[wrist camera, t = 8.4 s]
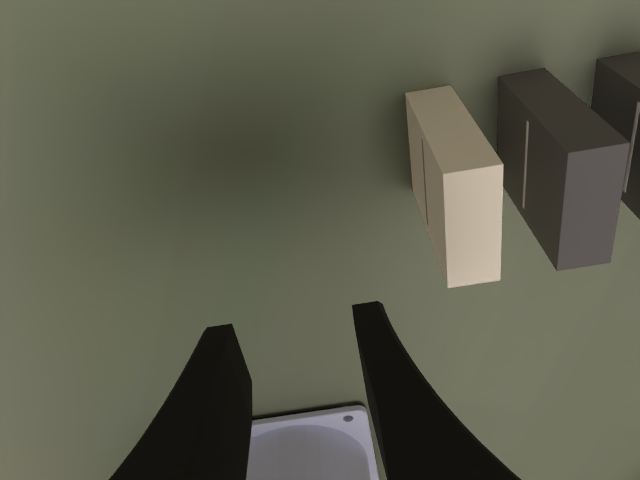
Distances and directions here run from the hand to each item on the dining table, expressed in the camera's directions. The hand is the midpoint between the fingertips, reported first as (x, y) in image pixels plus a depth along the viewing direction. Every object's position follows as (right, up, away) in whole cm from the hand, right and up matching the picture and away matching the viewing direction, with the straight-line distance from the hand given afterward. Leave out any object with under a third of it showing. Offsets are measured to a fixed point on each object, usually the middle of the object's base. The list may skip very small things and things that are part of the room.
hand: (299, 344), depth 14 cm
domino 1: (+5, +6, +7) cm, 11 cm away
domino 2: (+8, +7, +7) cm, 13 cm away
